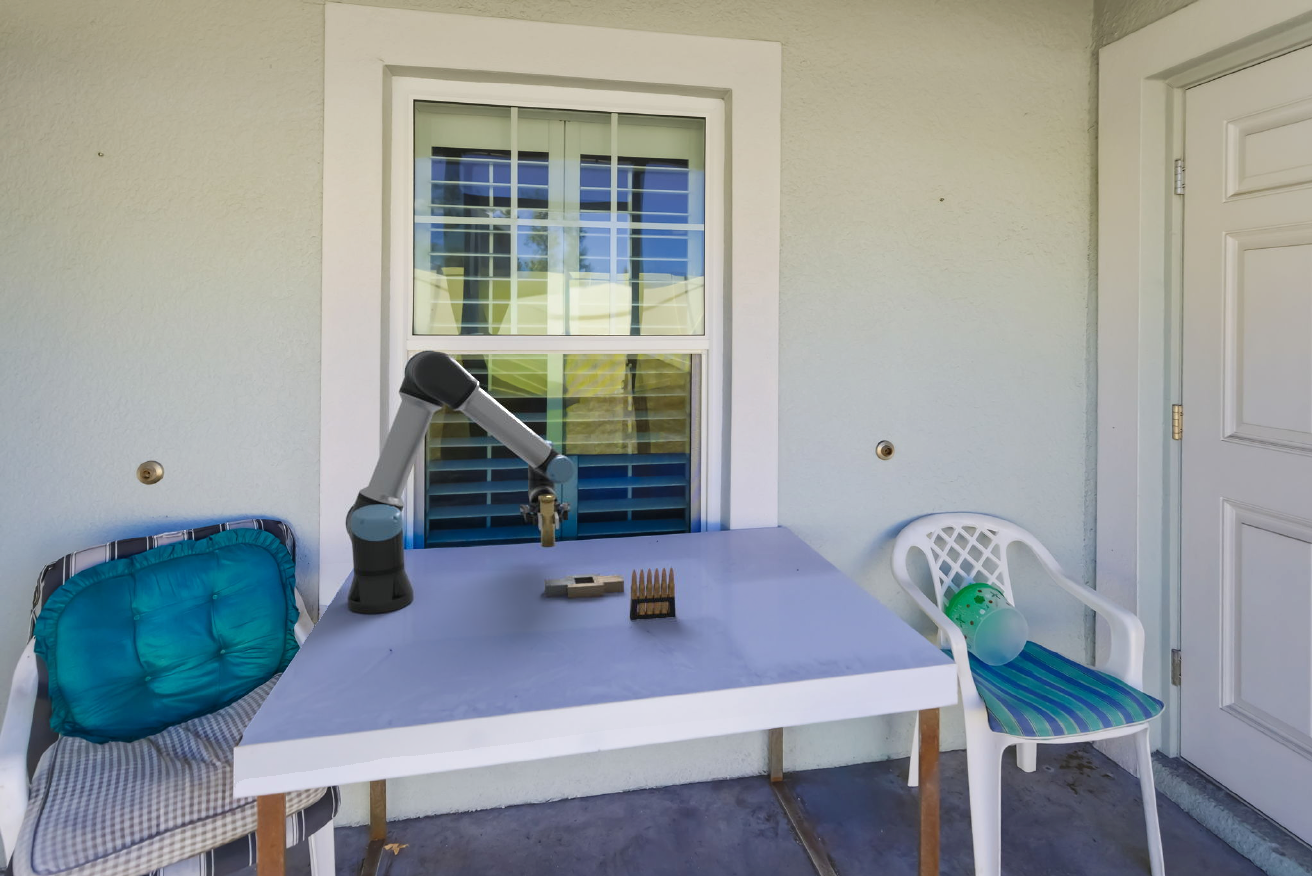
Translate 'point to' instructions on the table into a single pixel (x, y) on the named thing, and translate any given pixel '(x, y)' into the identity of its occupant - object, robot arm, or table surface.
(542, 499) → the link pin
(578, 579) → the chain joint
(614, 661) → the table surface
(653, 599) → the ammunition clip
